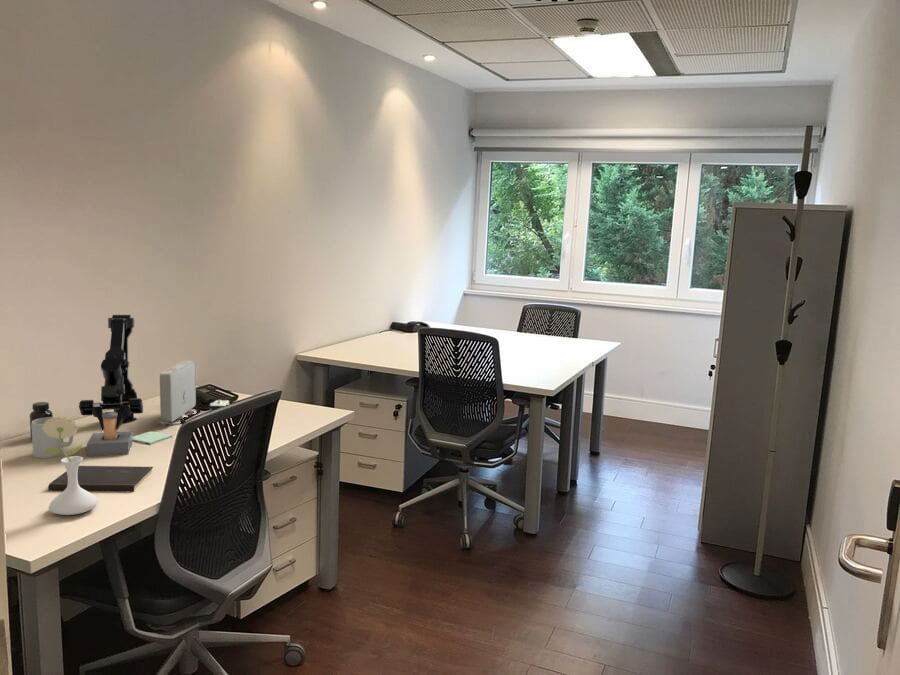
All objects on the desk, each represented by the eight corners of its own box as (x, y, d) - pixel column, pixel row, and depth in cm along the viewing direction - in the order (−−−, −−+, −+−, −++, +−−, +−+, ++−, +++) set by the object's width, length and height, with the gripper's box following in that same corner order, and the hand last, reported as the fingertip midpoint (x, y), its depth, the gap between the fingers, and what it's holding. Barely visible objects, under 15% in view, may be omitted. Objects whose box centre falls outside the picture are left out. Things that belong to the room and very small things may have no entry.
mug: (27, 458, 225) (25, 423, 224) (41, 449, 234) (40, 416, 232) (66, 459, 226) (65, 424, 224) (79, 450, 234) (78, 417, 233)
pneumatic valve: (230, 428, 265) (230, 396, 264) (222, 437, 254) (222, 404, 252) (215, 427, 265) (214, 395, 263) (206, 437, 254) (205, 403, 252)
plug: (100, 450, 235) (98, 414, 234) (111, 446, 240) (110, 411, 238) (110, 452, 234) (109, 416, 232) (121, 448, 238) (120, 412, 236)
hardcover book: (74, 472, 216) (73, 465, 216) (153, 474, 218) (153, 466, 217) (48, 492, 200) (48, 484, 200) (134, 493, 202) (133, 485, 201)
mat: (128, 440, 247) (128, 438, 247) (150, 432, 256) (150, 431, 256) (150, 444, 243) (150, 442, 243) (172, 436, 252) (172, 435, 252)
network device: (177, 427, 263) (176, 373, 260) (153, 426, 263) (151, 372, 260) (201, 409, 289) (201, 360, 286) (179, 409, 289) (178, 359, 286)
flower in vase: (106, 503, 193) (103, 412, 189) (83, 520, 182) (79, 424, 178) (58, 500, 193) (54, 409, 190) (32, 517, 182) (27, 421, 178)
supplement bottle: (25, 438, 244) (24, 404, 242) (43, 433, 250) (42, 400, 248) (40, 441, 241) (38, 406, 240) (58, 436, 248) (56, 402, 246)
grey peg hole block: (93, 444, 241) (93, 433, 240) (132, 442, 244) (132, 431, 244) (87, 456, 229) (86, 443, 229) (128, 453, 233) (128, 441, 232)
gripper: (78, 376, 234) (73, 418, 225) (141, 374, 239) (138, 415, 231) (84, 394, 243) (79, 435, 234) (144, 392, 248) (141, 432, 239)
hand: (109, 429), depth 234 cm, fingers closed on plug, 4 cm apart
